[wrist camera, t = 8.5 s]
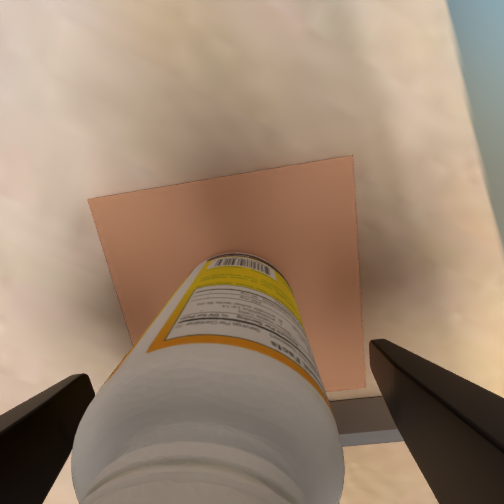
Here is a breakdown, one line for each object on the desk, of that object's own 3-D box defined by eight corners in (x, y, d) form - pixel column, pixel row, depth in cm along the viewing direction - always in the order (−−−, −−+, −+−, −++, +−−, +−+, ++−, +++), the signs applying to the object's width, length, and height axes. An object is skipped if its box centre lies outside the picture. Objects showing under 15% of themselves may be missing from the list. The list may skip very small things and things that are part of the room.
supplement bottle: (218, 366, 14) (113, 832, 4) (161, 280, 13) (-202, 636, 3) (312, 323, 13) (487, 774, 3) (261, 227, 12) (273, 454, 2)
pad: (361, 380, 14) (365, 387, 14) (156, 402, 15) (152, 410, 15) (348, 156, 11) (352, 154, 11) (94, 198, 12) (87, 199, 12)
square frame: (451, 541, 17) (475, 586, 15) (267, 553, 18) (268, 597, 16) (459, 388, 14) (491, 420, 12) (237, 411, 15) (234, 444, 13)
